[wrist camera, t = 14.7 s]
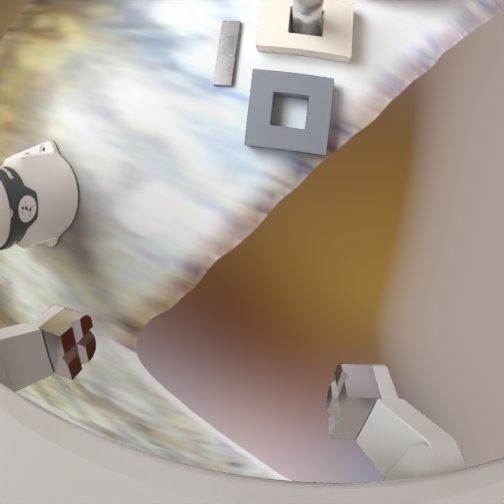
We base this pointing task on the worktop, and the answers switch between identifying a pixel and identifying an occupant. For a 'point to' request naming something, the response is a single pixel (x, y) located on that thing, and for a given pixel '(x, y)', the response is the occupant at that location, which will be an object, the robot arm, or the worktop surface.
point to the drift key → (227, 53)
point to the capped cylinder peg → (307, 16)
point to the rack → (281, 41)
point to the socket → (297, 87)
